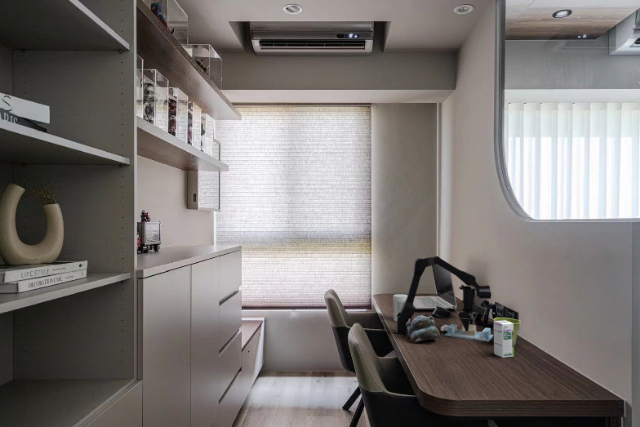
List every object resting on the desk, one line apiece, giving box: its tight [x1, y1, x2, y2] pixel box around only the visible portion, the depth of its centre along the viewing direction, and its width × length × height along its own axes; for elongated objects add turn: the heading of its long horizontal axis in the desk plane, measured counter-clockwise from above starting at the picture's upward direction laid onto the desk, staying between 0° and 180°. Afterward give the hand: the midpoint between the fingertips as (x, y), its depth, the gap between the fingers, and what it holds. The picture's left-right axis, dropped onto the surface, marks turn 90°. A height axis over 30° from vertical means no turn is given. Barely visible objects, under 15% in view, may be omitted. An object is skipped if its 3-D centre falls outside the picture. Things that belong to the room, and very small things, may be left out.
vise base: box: [444, 327, 494, 342], centre depth 213 cm, size 12×21×4 cm, turn 59°
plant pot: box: [493, 317, 522, 346], centre depth 199 cm, size 12×12×11 cm
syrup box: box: [493, 320, 515, 359], centre depth 182 cm, size 6×6×14 cm
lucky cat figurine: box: [406, 313, 441, 344], centre depth 205 cm, size 15×12×14 cm
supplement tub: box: [392, 293, 410, 323], centre depth 246 cm, size 10×10×15 cm
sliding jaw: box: [440, 323, 458, 334], centre depth 219 cm, size 9×6×4 cm
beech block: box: [461, 323, 477, 336], centre depth 213 cm, size 4×6×5 cm, turn 59°
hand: (468, 329), depth 214 cm, fingers open, 9 cm apart
